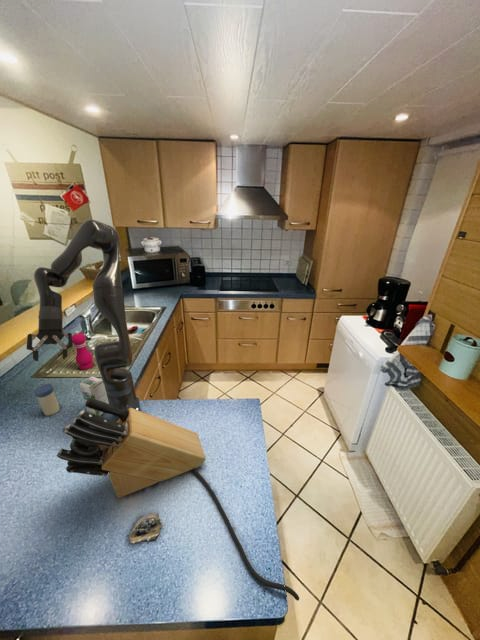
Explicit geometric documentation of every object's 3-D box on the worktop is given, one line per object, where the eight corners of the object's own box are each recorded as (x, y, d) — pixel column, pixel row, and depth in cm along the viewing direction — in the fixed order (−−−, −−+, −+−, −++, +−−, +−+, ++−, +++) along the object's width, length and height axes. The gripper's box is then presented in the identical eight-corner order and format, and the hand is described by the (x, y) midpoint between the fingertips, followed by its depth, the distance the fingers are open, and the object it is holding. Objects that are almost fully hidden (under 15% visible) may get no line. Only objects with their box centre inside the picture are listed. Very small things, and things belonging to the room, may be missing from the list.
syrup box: (87, 413, 98) (78, 384, 92) (100, 403, 103) (92, 375, 97) (98, 418, 96) (89, 388, 90) (110, 407, 101) (103, 378, 95)
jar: (62, 408, 101) (54, 387, 96) (49, 417, 96) (40, 395, 92) (54, 404, 103) (46, 383, 98) (40, 412, 98) (31, 391, 94)
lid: (38, 389, 97) (37, 385, 97) (55, 386, 99) (54, 382, 98) (33, 399, 93) (31, 395, 92) (51, 395, 94) (49, 391, 94)
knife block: (84, 476, 76) (53, 397, 63) (197, 438, 89) (191, 366, 76) (78, 514, 67) (41, 432, 53) (206, 466, 79) (201, 389, 66)
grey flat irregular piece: (165, 533, 63) (164, 529, 62) (132, 555, 59) (130, 551, 58) (157, 508, 68) (156, 504, 67) (126, 527, 64) (125, 523, 63)
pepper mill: (87, 371, 123) (76, 335, 114) (74, 369, 124) (63, 333, 116) (97, 363, 129) (88, 328, 121) (85, 361, 130) (75, 327, 122)
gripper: (73, 319, 105) (73, 358, 104) (29, 319, 98) (29, 361, 97) (72, 317, 99) (71, 358, 98) (25, 317, 92) (24, 362, 91)
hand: (50, 359), depth 97 cm, fingers open, 8 cm apart
